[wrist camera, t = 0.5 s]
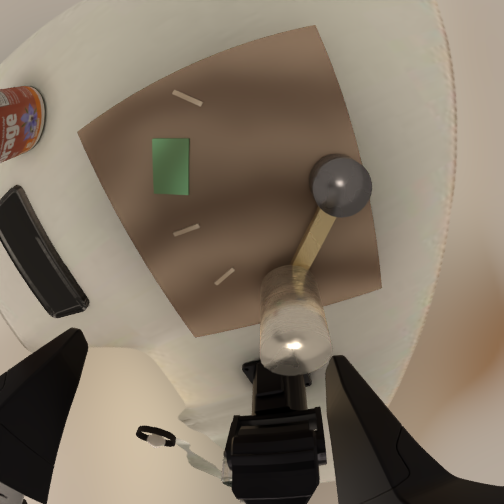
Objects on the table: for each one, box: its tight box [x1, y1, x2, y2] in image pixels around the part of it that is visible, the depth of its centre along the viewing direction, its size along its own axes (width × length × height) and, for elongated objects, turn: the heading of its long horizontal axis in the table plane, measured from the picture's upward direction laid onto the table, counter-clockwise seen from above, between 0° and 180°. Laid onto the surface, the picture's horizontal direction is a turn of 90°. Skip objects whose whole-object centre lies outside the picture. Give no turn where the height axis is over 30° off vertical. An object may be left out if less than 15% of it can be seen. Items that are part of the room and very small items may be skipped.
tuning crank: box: [260, 154, 372, 376], centre depth 16 cm, size 13×4×7 cm, turn 160°
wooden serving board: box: [77, 25, 382, 337], centre depth 19 cm, size 20×17×2 cm
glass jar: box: [221, 457, 232, 487], centre depth 43 cm, size 6×6×8 cm
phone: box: [0, 185, 89, 318], centre depth 22 cm, size 8×1×15 cm
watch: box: [136, 426, 176, 448], centre depth 41 cm, size 8×5×4 cm, turn 78°
